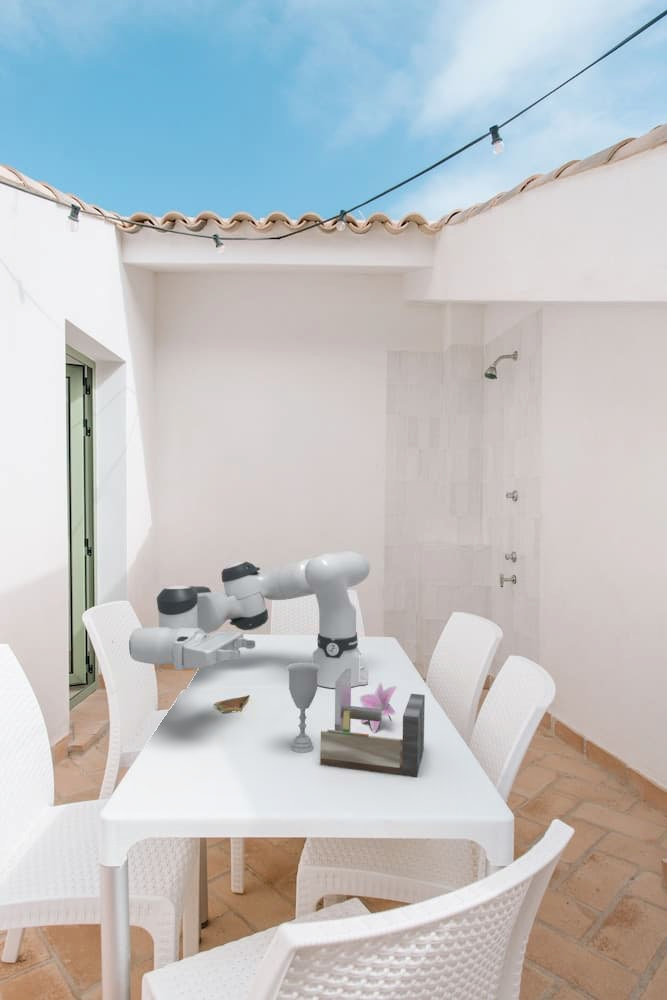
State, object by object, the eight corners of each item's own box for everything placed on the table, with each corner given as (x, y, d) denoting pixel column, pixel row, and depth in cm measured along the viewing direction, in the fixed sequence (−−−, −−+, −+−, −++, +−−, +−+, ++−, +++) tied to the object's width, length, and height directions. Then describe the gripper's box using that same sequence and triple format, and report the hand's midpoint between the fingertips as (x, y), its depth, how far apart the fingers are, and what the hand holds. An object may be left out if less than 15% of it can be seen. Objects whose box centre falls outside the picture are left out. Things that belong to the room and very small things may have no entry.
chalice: (318, 741, 136) (319, 662, 136) (318, 754, 130) (319, 671, 129) (286, 741, 136) (287, 662, 136) (284, 754, 129) (286, 671, 129)
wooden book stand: (336, 738, 138) (337, 686, 138) (423, 748, 133) (424, 694, 133) (320, 765, 124) (321, 707, 124) (416, 777, 120) (417, 717, 119)
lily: (359, 717, 155) (347, 689, 151) (401, 699, 155) (390, 671, 152) (370, 750, 143) (357, 720, 140) (415, 731, 144) (403, 701, 140)
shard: (249, 700, 164) (249, 693, 164) (263, 708, 158) (263, 701, 158) (213, 708, 158) (213, 701, 158) (226, 717, 152) (226, 710, 152)
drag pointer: (344, 753, 126) (345, 710, 126) (350, 754, 125) (350, 711, 125) (342, 756, 124) (343, 712, 124) (348, 756, 124) (349, 713, 124)
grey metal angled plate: (345, 734, 136) (346, 668, 136) (384, 738, 134) (385, 671, 133) (332, 754, 125) (334, 683, 125) (375, 760, 123) (376, 687, 123)
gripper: (211, 649, 153) (262, 651, 149) (171, 672, 133) (229, 675, 130) (211, 624, 153) (262, 626, 149) (171, 643, 133) (229, 646, 130)
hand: (246, 649), depth 139 cm, fingers open, 8 cm apart
